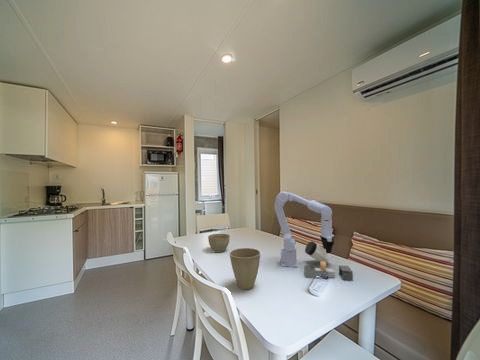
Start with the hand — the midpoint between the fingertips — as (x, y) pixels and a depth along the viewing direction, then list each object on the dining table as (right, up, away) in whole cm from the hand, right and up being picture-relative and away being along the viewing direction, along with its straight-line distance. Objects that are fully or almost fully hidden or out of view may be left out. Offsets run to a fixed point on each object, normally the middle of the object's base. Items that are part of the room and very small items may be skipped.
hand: (326, 250), depth 118 cm
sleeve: (-9, -10, -9) cm, 16 cm away
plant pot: (-47, -11, -18) cm, 52 cm away
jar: (+3, -7, +8) cm, 10 cm away
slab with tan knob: (-7, -10, -9) cm, 15 cm away
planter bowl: (-65, -12, +36) cm, 75 cm away
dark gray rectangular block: (+5, -9, -12) cm, 16 cm away
